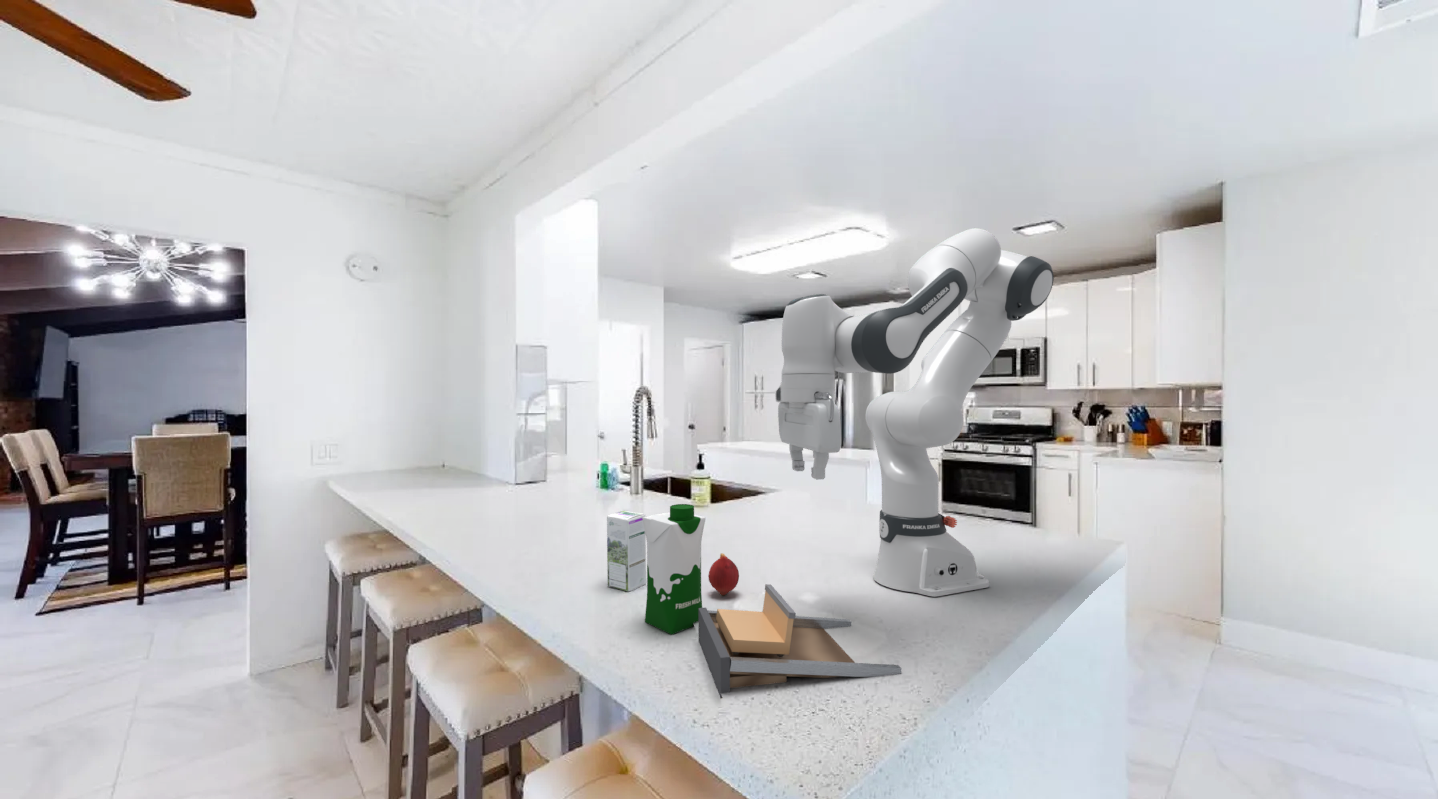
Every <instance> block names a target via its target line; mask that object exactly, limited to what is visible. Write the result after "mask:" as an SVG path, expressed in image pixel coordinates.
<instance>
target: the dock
mask: <svg viewBox="0 0 1438 799" xmlns="http://www.w3.org/2000/svg"><path fill="white" fill-rule="evenodd" d="M716 615H717V610H708V608H707V607H702V608H698V621H697V622H698V643H699V646H700V649H701V651H702V654H703V656H704V660H705V661H706V662H705V663H706V664H707V667H708V670H709V672H710V674H711V677H712V680H713V682H714V685H715V689H716V690H717V692H718V695H719V698H720V699H723V695H722V694H726V693H730V692H731V689H733V688H734V689H735V688H744V687H751V686H752V687H753V686H762V685H773V684H781V683H787V677H793V678H794V677H797V678H798V677H799V678H818V679H819V678H821V679H827V678H837V677H853V678H855V677H856V678H857V677H858V678H859V677H860V678H873V677H874V678H875V677H882V676H883V677H884V676H891V675H892V676H893V675H901V674H902V667H901V666H900V665H899V664H890V663H889V664H887V663H884V664H883V663H871V662H870V663H866V662H865V663H864V662H855V660H853V659H852V658H851V656H850V655H849V654H848V653H847V652H846V651H845V650H844V649H843V648H842V647H841V645H839V643H838V642H837V641H836V640H835V639H834V638H833V637H832V636H831V635H830V633H828V632H827V630H825V629H834V628H835V629H836V628H846V627H852V621H851V620H850V619H847V618H846V619H845V618H832V617H817V616H802V615H795V619H794V621H793V628H792V635H791V643H790V650H789V655H788V654H784V656H783V657H778V656H777V655H776V654H767V653H747V652H739V654H738V655H733V654H732V652H731V649H730V647H729V645H728V643H727V641H726V639H725V637H724V635H723V633H722V631H721V629H720V628H719V626H718V623H717V621H716Z"/></svg>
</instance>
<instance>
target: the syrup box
mask: <svg viewBox="0 0 1438 799" xmlns="http://www.w3.org/2000/svg"><path fill="white" fill-rule="evenodd" d="M642 517H646V514H645V513H641V512H635V511H628V510H622V511H621V510H620V511H617V512H614V513H611V514H609V515H606V546H607V547H606V550H607V552H606V554H607V560H606V561H607V562H606V563H607V566H606V567H607V569H606V570H607V587H608V588H613V589H616V590H621V591H625V592H631V591H634V590H637V589H639V588H640V587H643V586H645V585H647V540H646V534H645V529H644V524H643V519H642Z"/></svg>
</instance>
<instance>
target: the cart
mask: <svg viewBox="0 0 1438 799" xmlns="http://www.w3.org/2000/svg"><path fill="white" fill-rule="evenodd" d="M764 590H765V591H764V598H763V599H764V600H763V607H762V611H758V610H757V611H755V610H739V609H726V608H725V609H722V608H717V610H716V611H717V615H716V621H717V623H718V626H719V628H720V629H721V631H722V633H723V635H724V637H725V639H726V641H727V643H728V645H729V647H730V649H731V652H732V654H733V655H738V654H739V652H747V653H767V654H776V655H777V656H778V657H783V656H784V654H788V655H789V650H790V643H791V635H792V628H793V621H794V619H795V616H797V615H796V611H794V609H793V608H792V607H791V606H790V605H789V603H788V602H787V601H786V600H785V599H784V598H783V597H782V595H780V593H779V592H778V591H777V590H776V589H775V587H774V586H773V585H772V584H769V583H767V584H766V583H765V584H764Z"/></svg>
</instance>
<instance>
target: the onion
mask: <svg viewBox="0 0 1438 799" xmlns="http://www.w3.org/2000/svg"><path fill="white" fill-rule="evenodd" d="M739 578H740V573H739V569H738V567H737V565H736V563H735V562H733V561H732V560H731V559H730V558H729V557H727V556H726V554H725V553H720V554H719V558H718V559H717V560H716V561H714V562H713V563H712V564H711V566H710V569H709V571H708V582H709V584H710V585H711V586H712V588H714V590H716V592H718V594H719V595H721V596H725V595H727V594H729V593H730V592H732V591H733V590H734V589H736V587H737V585H738V583H739Z"/></svg>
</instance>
